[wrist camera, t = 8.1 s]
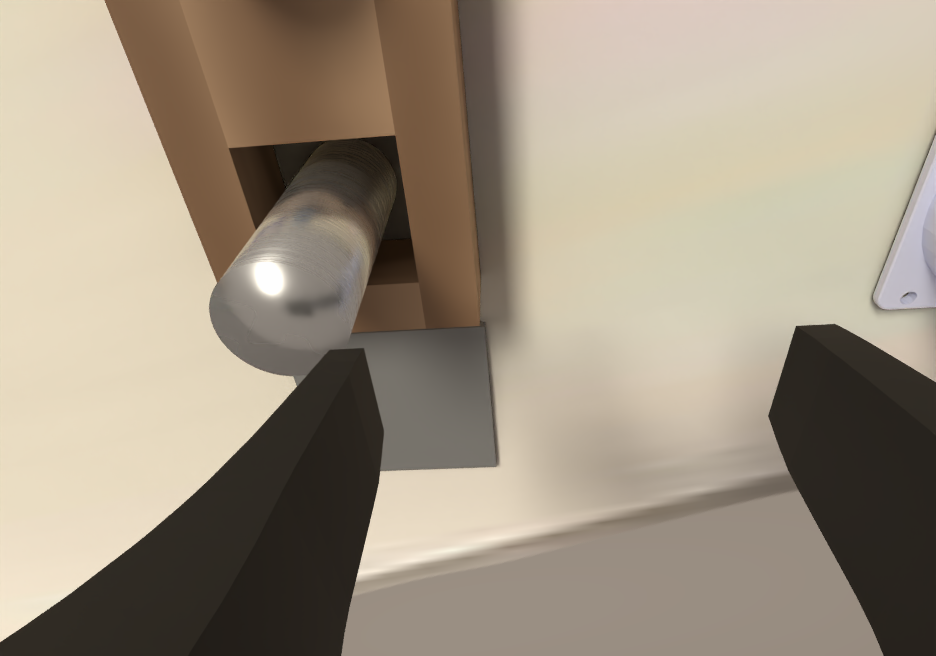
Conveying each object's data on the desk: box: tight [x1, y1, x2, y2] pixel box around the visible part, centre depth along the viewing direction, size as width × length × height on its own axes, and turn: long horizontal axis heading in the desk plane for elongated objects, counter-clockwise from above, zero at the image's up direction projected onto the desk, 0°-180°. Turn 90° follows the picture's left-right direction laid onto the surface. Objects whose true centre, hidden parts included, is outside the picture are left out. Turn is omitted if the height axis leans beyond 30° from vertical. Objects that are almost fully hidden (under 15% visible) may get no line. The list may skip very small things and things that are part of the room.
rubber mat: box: [294, 322, 496, 471], centre depth 25 cm, size 8×8×1 cm
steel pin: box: [209, 138, 397, 376], centre depth 16 cm, size 3×3×8 cm
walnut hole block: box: [105, 0, 481, 333], centre depth 15 cm, size 8×16×3 cm, turn 5°
